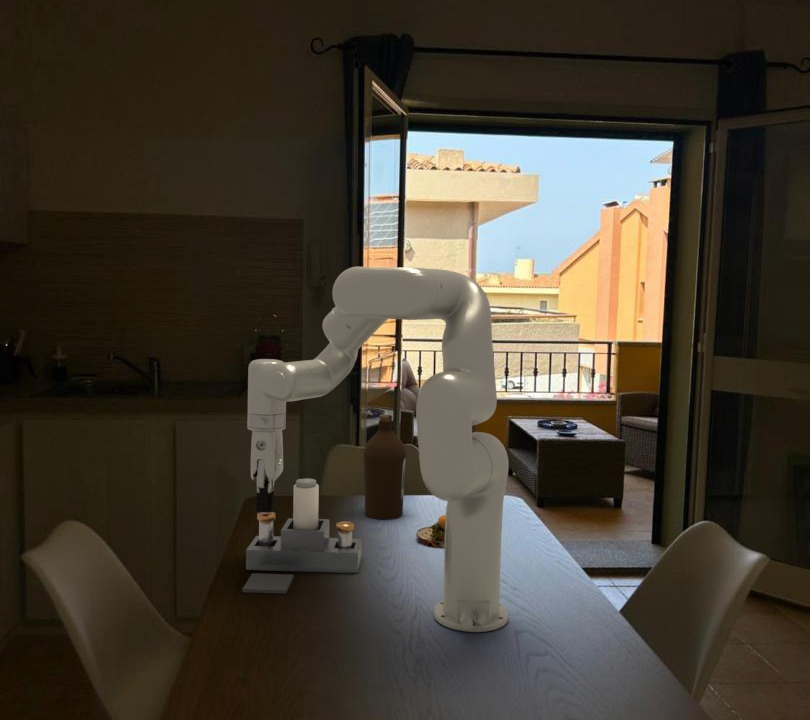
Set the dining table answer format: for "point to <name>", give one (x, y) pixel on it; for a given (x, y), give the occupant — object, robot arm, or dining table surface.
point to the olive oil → (384, 472)
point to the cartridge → (305, 504)
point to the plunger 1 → (266, 528)
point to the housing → (304, 551)
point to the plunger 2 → (345, 534)
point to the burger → (433, 534)
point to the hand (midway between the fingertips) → (265, 511)
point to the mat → (268, 583)
